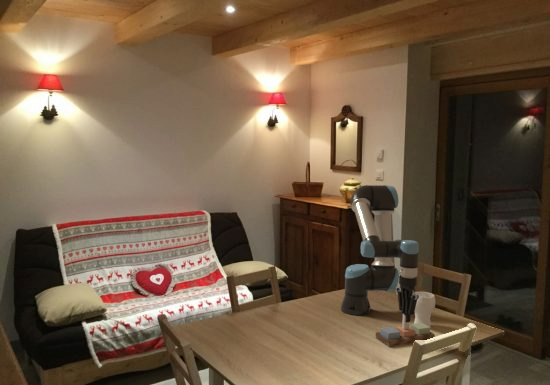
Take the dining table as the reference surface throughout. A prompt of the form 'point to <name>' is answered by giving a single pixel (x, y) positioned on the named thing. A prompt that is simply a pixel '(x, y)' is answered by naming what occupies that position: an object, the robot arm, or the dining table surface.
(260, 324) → the dining table surface
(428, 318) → the cup
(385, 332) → the cap slate
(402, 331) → the cap terracotta
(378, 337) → the button board
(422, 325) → the cap sage
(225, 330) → the dining table surface
